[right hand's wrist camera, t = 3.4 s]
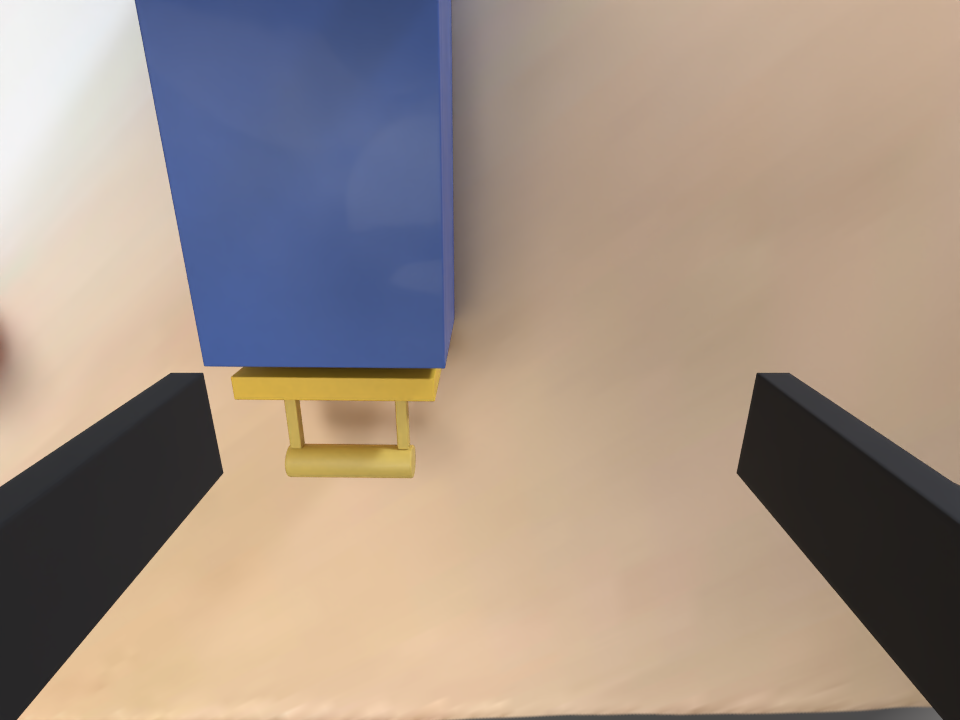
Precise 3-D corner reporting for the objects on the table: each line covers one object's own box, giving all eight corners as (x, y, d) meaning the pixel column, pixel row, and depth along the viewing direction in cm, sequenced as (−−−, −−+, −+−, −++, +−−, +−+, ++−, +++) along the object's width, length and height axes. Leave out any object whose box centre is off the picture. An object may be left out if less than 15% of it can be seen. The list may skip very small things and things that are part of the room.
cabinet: (454, 319, 31) (445, 369, 23) (272, 318, 31) (203, 366, 23) (450, -121, 24) (434, -257, 16) (212, -122, 24) (84, -259, 16)
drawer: (445, 440, 33) (437, 497, 27) (291, 438, 33) (250, 496, 27) (436, -40, 24) (422, -105, 18) (227, -41, 24) (147, -106, 18)
